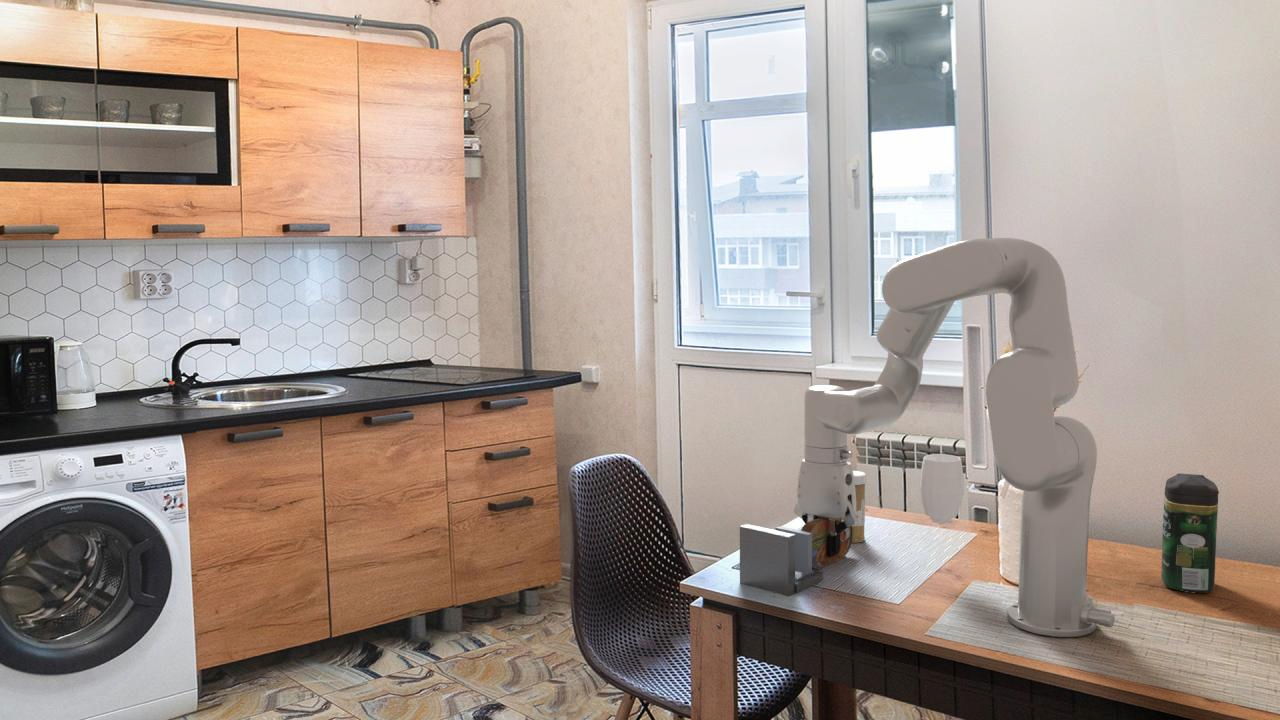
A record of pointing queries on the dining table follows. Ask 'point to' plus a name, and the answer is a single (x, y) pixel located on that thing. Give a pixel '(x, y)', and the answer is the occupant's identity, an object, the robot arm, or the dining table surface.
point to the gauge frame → (771, 561)
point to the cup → (941, 486)
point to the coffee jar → (1189, 533)
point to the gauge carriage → (801, 549)
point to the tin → (819, 541)
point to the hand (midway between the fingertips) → (825, 552)
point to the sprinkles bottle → (859, 507)
